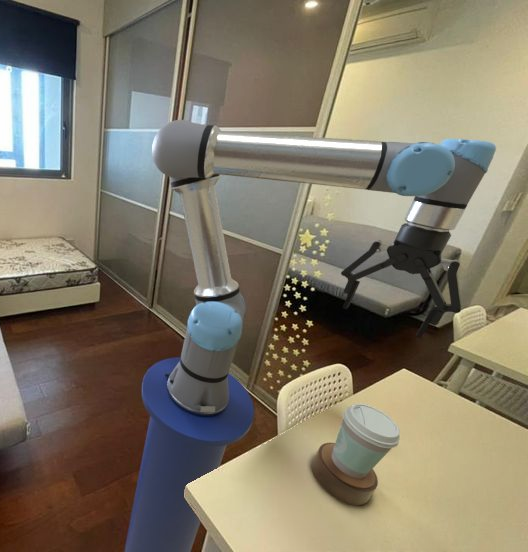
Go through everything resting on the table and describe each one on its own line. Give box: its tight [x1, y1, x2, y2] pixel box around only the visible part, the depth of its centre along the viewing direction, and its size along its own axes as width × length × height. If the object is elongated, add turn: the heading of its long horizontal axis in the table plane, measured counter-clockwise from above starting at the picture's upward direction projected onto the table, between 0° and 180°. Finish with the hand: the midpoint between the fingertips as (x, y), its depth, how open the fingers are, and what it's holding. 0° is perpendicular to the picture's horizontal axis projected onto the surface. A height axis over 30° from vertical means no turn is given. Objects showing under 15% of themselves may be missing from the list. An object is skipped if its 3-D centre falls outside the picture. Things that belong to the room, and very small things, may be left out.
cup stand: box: [311, 442, 379, 506], centre depth 63 cm, size 10×10×4 cm
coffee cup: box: [332, 402, 401, 479], centre depth 59 cm, size 8×8×12 cm
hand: (379, 320), depth 70 cm, fingers open, 13 cm apart
